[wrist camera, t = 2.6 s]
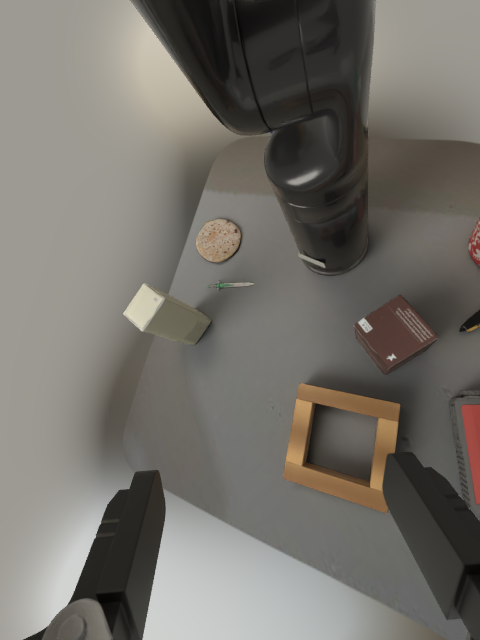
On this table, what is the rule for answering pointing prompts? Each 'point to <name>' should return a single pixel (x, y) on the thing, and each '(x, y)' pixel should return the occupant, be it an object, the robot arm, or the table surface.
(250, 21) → the robot arm
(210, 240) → the flatbread
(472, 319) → the fountain pen
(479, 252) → the mug
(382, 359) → the box
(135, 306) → the box
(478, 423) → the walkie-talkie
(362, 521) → the table surface
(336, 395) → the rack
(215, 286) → the sword
